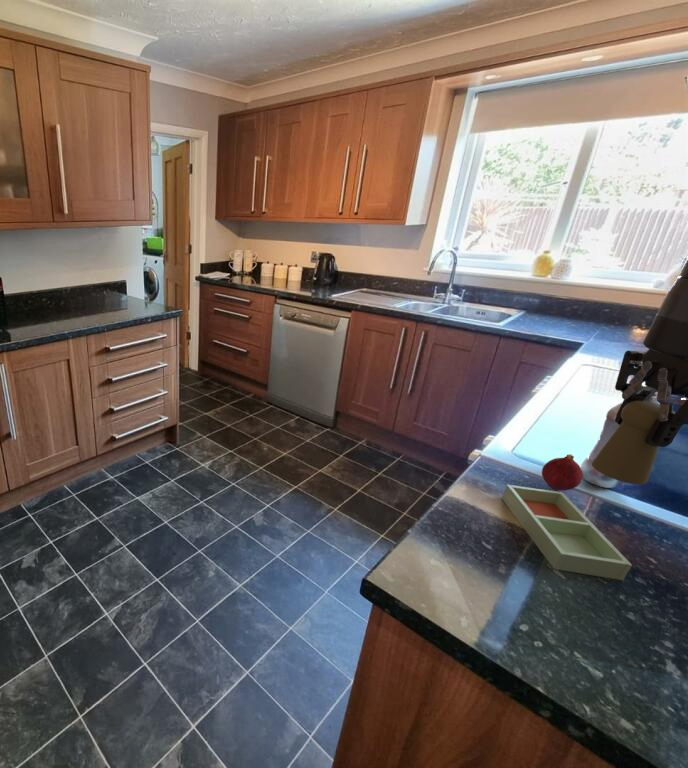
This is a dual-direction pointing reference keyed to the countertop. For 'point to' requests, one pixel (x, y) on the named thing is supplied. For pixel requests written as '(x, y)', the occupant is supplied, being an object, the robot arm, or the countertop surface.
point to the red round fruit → (562, 473)
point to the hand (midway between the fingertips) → (638, 433)
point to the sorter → (564, 533)
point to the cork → (630, 445)
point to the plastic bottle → (608, 430)
